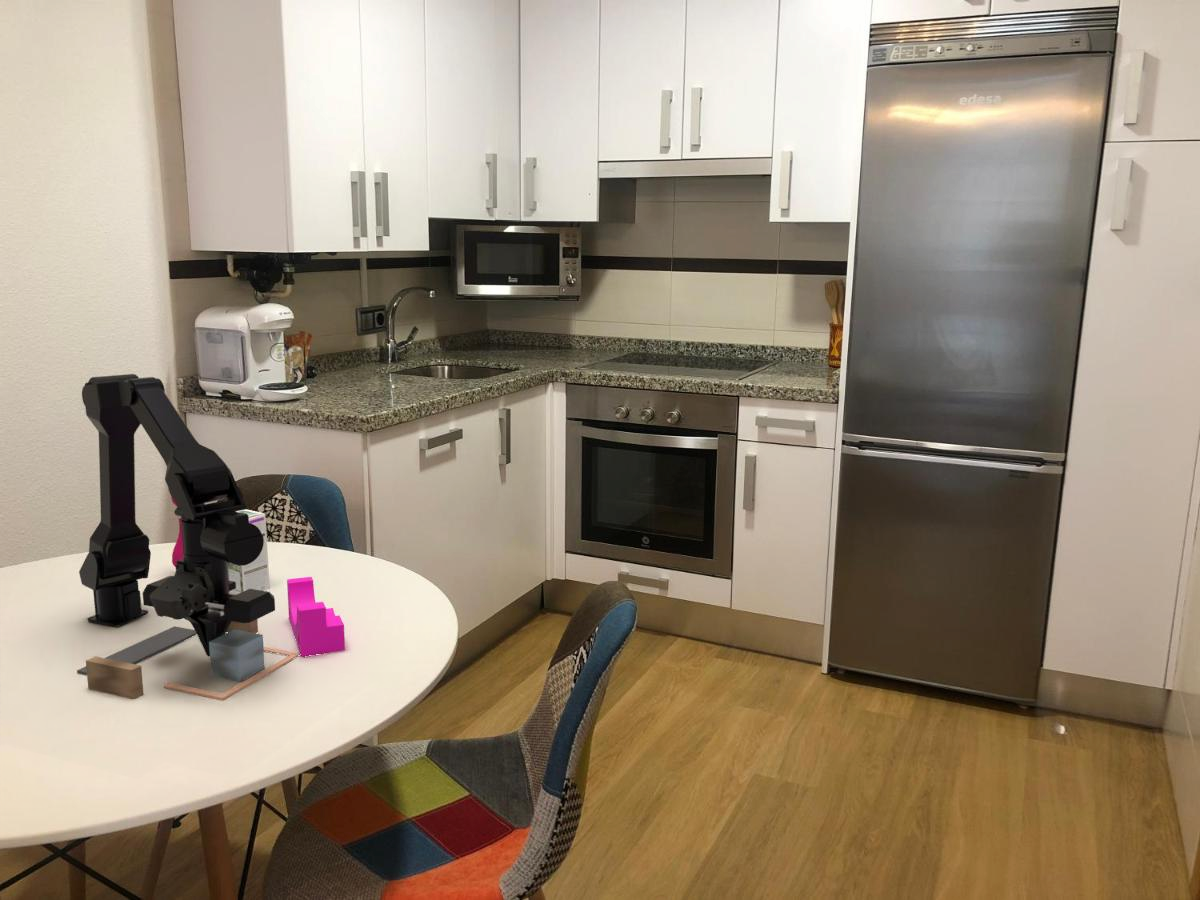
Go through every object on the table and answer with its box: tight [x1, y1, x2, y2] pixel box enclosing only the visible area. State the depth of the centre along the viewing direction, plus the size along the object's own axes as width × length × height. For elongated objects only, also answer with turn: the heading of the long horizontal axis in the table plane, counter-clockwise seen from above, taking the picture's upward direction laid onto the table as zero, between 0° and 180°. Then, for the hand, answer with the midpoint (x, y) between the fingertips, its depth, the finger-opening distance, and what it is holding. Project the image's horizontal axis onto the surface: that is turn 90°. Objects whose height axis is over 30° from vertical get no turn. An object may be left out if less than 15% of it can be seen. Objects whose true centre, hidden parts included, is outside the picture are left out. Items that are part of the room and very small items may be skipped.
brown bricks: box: [85, 619, 259, 700], centre depth 141 cm, size 8×24×4 cm, turn 159°
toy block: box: [286, 576, 346, 658], centre depth 150 cm, size 15×6×8 cm, turn 24°
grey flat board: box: [76, 626, 197, 676], centre depth 144 cm, size 5×18×1 cm, turn 159°
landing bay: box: [163, 646, 301, 701], centre depth 138 cm, size 10×16×1 cm, turn 159°
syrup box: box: [228, 508, 271, 594], centre depth 167 cm, size 6×6×14 cm
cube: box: [209, 630, 266, 683], centre depth 137 cm, size 5×5×5 cm
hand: (212, 655), depth 139 cm, fingers closed
